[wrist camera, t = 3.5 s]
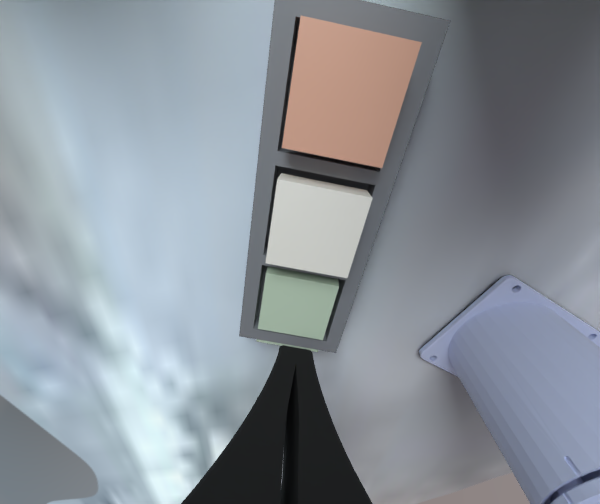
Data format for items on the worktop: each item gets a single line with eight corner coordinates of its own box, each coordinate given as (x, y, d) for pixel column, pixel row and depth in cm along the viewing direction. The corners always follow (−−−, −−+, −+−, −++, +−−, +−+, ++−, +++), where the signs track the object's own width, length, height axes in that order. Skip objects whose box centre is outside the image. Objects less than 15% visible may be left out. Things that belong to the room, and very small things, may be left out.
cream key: (344, 264, 14) (347, 278, 13) (269, 250, 14) (265, 263, 12) (366, 190, 12) (372, 197, 11) (281, 173, 12) (277, 178, 11)
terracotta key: (374, 163, 11) (382, 168, 10) (285, 145, 11) (281, 147, 10) (407, 52, 10) (421, 42, 8) (302, 29, 10) (300, 15, 8)
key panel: (332, 331, 19) (334, 356, 17) (246, 316, 18) (238, 339, 16) (426, 38, 11) (450, 20, 9) (283, 7, 11) (276, -19, 9)
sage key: (322, 324, 17) (322, 340, 16) (262, 313, 17) (257, 328, 16) (337, 272, 15) (339, 286, 14) (269, 260, 15) (266, 272, 14)
